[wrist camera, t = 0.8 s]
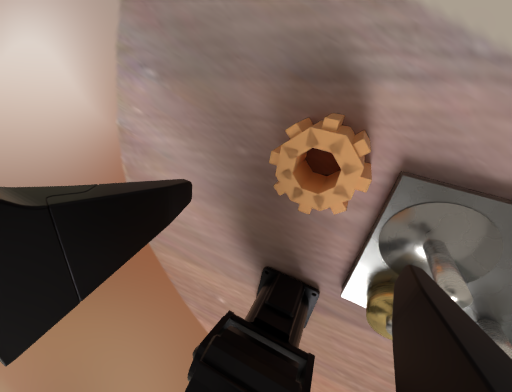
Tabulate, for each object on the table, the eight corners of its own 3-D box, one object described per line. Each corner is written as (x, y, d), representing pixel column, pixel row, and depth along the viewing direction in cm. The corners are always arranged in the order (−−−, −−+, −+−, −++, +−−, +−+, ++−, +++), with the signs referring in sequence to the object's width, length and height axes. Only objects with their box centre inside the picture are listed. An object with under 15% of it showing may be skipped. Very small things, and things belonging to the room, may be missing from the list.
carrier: (482, 353, 19) (523, 444, 14) (341, 290, 23) (333, 345, 18) (630, 231, 13) (797, 320, 8) (401, 171, 16) (416, 205, 11)
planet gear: (352, 206, 19) (349, 230, 16) (278, 181, 21) (261, 198, 18) (387, 124, 16) (393, 133, 12) (295, 105, 18) (278, 108, 14)
